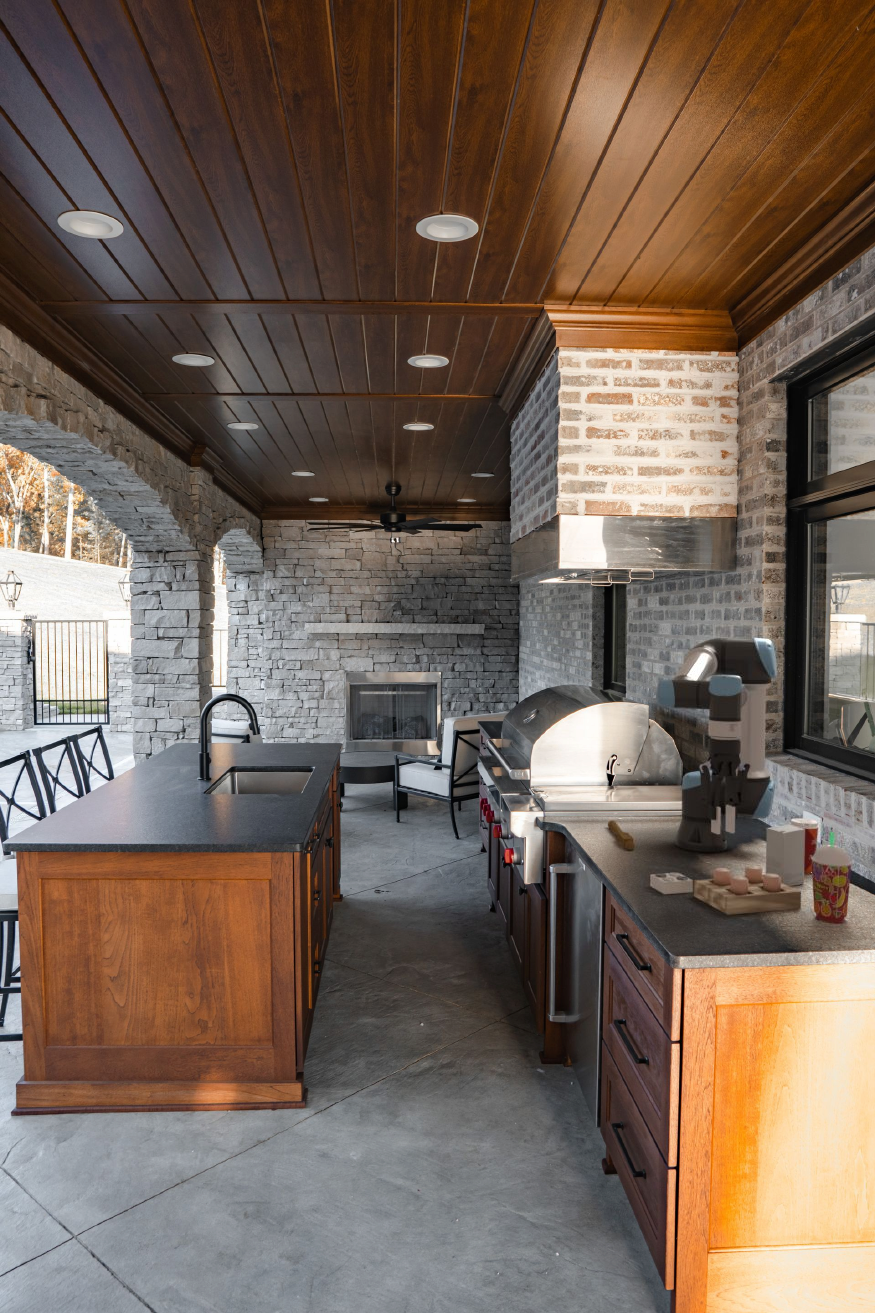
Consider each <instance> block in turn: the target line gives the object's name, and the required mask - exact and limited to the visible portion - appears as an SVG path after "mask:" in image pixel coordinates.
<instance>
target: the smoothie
mask: <svg viewBox="0 0 875 1313" xmlns="http://www.w3.org/2000/svg"><path fill="white" fill-rule="evenodd" d="M829 839H830V843H827V844H823V845H821V846H819V847H818V848H816V852H815V854H814V856H812V858H811V859H812V873H811V875H812V876H811V877H812V894H813V896H812V897H813V912H814V913H815V915H816V918H817V919H818V920H820V921H822V922H826V923H831V924H839V923H840V924H841V923H843V922H844V921H845V918H847V916H848V908H849V907H848V904H849V896H850V895H849V894H850V884H851V873H852V863H853V862H852V861H851V858H850V856H849V855H848V853H847V852H846V851H845V849H844V848H842V847H841V846H839V845H838V844H837V845H836V844H834V832H830V838H829Z"/></svg>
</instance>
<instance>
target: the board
mask: <svg viewBox="0 0 875 1313" xmlns="http://www.w3.org/2000/svg"><path fill="white" fill-rule="evenodd" d="M763 875H764V874H762V883H757V884H750V883H748V894H747V895H735V894H733V893H731V892H730V887H731V886H717V885H715V884H713V878H706V879H695V880H693V897H695V898H697V899H698V900H700V901H702V902H703V903H706V905H707V904H708V905H709V906H712V907H713V908H714V909H717V910H718V911H720V912H722V913H723V914H725V915H728V916H729V915H740V914H751V913H762V912H773V911H775V912H776V911H785V910H786V911H787V910H795V909H796V910H797V909H801V908H802V907H801V906H802V891H801V890H798V889H796V888H794V887H793V886H787V885H785V884H783V883H781V892H771V893H769V892H767V891H765V890H763ZM743 877H745V875H744V876H743Z"/></svg>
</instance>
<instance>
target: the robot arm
mask: <svg viewBox="0 0 875 1313" xmlns="http://www.w3.org/2000/svg"><path fill="white" fill-rule="evenodd" d="M777 668H778V666H777V656H776V651H775V646H774V643H773V642H772V640H770V639H769V638H760V637H716V638H710V639H708V640H705V641H702V642H700V643H698V644H696V645H695V646H693V647H692V648H691V649H689V651H688V652H687V653H686V654H685V657H684V660H683V664H682V666H681V667H680V669H679V671H678V672H677V673H676V675H675V676H674V678H673V679H672V678H668V679H667V678H666V679H660V680H659V681H658V683H657V689H656V700H657V704H658V705H659V706H660V708H661V707H662V708H670V709H683V710H684V709H686V710H709V712H708V716H709V717H708V733H707V734H708V736H709V739H708V740H707V741H708V747H707V748H708V755H709V756H708V758H707V761H706V762H704V763H699V764H698V765H697V769H698V771H697V770H696V771H691V772H687V773H685V774H684V775H683V777H682V781H681V782H682V784H681V788H680V790H681V821H680V824H679V825H678V829H677V832H676V834H675V842H674V843H675V846H677V847H678V848H680V849H682V850H688V851H693V852H698V853H699V852H700V853H717V852H718V853H719V852H723V851H725V850H727V847H728V846H727V838H726V835H725V832H727V833H729V834H735V833H736V820H737V819H738V817H740V818H749V819H752V820H753V819H761V820H762V819H764V820H765V819H767V818H769V816H771V811H772V808H773V804H774V803H773V802H774V798H775V790H776V781H775V780H773V779H771V773H770V772H769V771H768V770H767V769H766V701H767V700H766V698H767V697H766V696H767V694H766V693H767V692H766V690H767V688H768V687H769V686H771V685H772V679H775V678H777V676H778V671H777V670H778V669H777ZM708 678H710V679H709V680H707V679H708ZM722 816H725V831H724V829H723V825H722Z"/></svg>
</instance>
